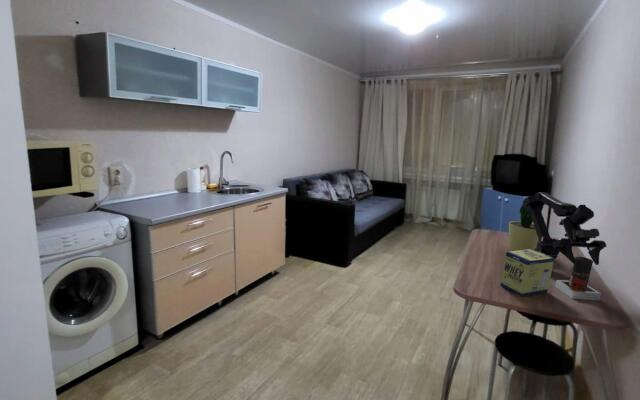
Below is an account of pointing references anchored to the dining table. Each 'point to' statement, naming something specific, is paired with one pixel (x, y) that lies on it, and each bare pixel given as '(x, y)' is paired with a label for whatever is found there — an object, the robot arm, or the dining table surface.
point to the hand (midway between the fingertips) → (586, 264)
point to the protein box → (527, 272)
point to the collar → (587, 294)
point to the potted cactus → (522, 232)
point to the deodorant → (580, 274)
